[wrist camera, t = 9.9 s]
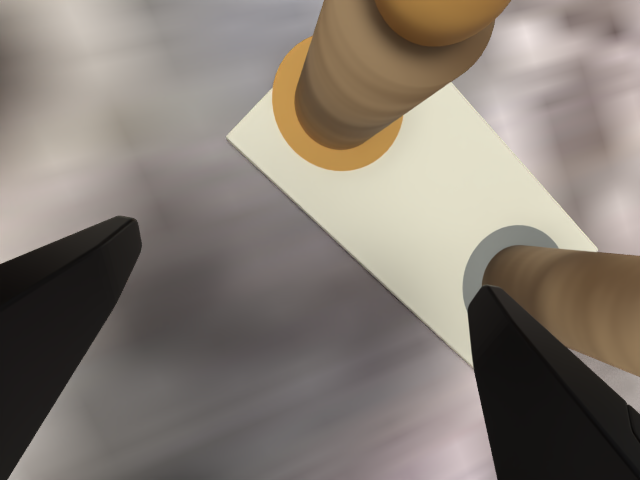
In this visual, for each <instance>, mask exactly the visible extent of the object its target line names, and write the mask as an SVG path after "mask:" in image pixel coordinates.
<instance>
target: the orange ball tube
mask: <svg viewBox="0 0 640 480" xmlns="http://www.w3.org/2000/svg"><path fill="white" fill-rule="evenodd" d="M510 1H511V0H324V2H323V6H322V9H321V12H320V15H319V18H318V21H317V24H316V27H315V31H314V34H313V37H312V40H311V43H310V46H309V49H308V53H307V56H306V59H305V62H304V65H303V68H302V71H301V75H300V78H299V81H298V84H297V87H296V91H295V100H294V104H295V111H296V115H297V118H298V121H299V123H300V125H301V127H302V128H303V130H304V131H305V132H306V133H307V135H308V136H309V137H310V138H312V139H313V140H314V141H315V142H317V143H318V144H320V145H322V146H324V147H327V148H330V149H335V150H347V149H352V148H355V147H357V146H359V145H361V144H363V143H364V142H366V141H367V140H369V139H370V138H371V137H373V136H374V135H376V134H377V133H379V132H380V131H382V130H383V129H384V128H386V127H387V126H389V125H390V124H392V123H393V122H394V121H396V120H397V119H399V118H400V117H402V116H403V115H404V114H406V113H407V112H409V111H410V110H412V109H413V108H414V107H416V106H417V105H419V104H420V103H422V102H423V101H424V100H426V99H427V98H429V97H430V96H432V95H433V94H434V93H436V92H437V91H439V90H440V89H442V88H443V87H445V86H446V85H447V84H449V83H450V82H452V81H453V80H455V79H456V78H457V77H459V76H460V75H462V74H463V73H464V72H466V71H467V70H468V69H469V68H470V67H471V66H472V65H474V64H475V62H476V61H477V60H478V59H479V57H480V56H481V55H482V53H483V51H484V50H485V48H486V46H487V44H488V42H489V40H490V37H491V34H492V31H493V28H494V23H495V19H496V18H497V17H498V16H499V15H500V14H501V13H502V12H503V10H504V9H505V8H506V6H507V5H508V4H509V3H510Z"/></svg>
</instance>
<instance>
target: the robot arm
mask: <svg viewBox="0 0 640 480" xmlns="http://www.w3.org/2000/svg"><path fill="white" fill-rule="evenodd" d="M141 248H142V242H141V236H140V231H139V225H138V222H137V220H136V219H134V218H130V217H125V216H116V217H113V218H111V219H108V220H106V221H104V222H101V223H99V224H96V225H94V226H91V227H89V228H87V229H84V230H82V231H79V232H77V233H74V234H72V235H70V236H67V237H65V238H62V239H60V240H58V241H55V242H53V243H50V244H48V245H45V246H43V247H41V248H38V249H36V250H33V251H31V252H28V253H26V254H24V255H21V256H19V257H16V258H14V259H12V260H9V261H7V262H4V263H2V264H0V480H7V479H8V478H9V476H10V475H11V473H12V471H13V470H14V468H15V466H16V465H17V463H18V462H19V460H20V458H21V457H22V455H23V454H24V452H25V450H26V449H27V447H28V446H29V444H30V442H31V441H32V439H33V437H34V436H35V434H36V433H37V431H38V429H39V428H40V426H41V425H42V423H43V421H44V420H45V418H46V417H47V415H48V413H49V412H50V410H51V408H52V407H53V405H54V404H55V402H56V400H57V399H58V397H59V396H60V394H61V392H62V391H63V389H64V388H65V386H66V384H67V383H68V381H69V379H70V378H71V376H72V375H73V373H74V371H75V370H76V368H77V367H78V365H79V363H80V362H81V360H82V359H83V357H84V355H85V354H86V352H87V350H88V349H89V347H90V346H91V344H92V342H93V341H94V339H95V338H96V336H97V334H98V333H99V331H100V329H101V328H102V326H103V325H104V323H105V321H106V320H107V318H108V317H109V315H110V313H111V312H112V310H113V308H114V307H115V305H116V303H117V301H118V299H119V297H120V295H121V293H122V291H123V289H124V287H125V285H126V282H127V280H128V278H129V276H130V274H131V272H132V270H133V267H134V265H135V263H136V261H137V259H138V257H139V255H140V252H141ZM467 313H468V323H469V333H470V343H471V353H472V361H473V368H474V373H475V378H476V382H477V387H478V392H479V396H480V401H481V405H482V410H483V415H484V419H485V424H486V429H487V433H488V438H489V443H490V447H491V452H492V456H493V461H494V466H495V470H496V475H497V480H640V414H639V413H638V412H637V411H636V410H635V409H634V408H633V407H632V406H630V405H627V403H626V401H625V400H624V399H623V398H622V397H620V396H619V395H618V394H617V393H616V392H615V391H614V390H613V389H612V388H611V387H609V386H608V385H607V384H606V383H605V382H604V381H603V380H602V379H601V378H600V377H598V376H597V375H596V374H595V373H594V372H593V371H592V370H591V369H590V368H589V367H587V366H586V365H585V364H584V363H583V362H582V361H581V360H580V359H579V358H578V357H576V356H575V355H574V354H573V353H572V352H571V351H570V350H569V349H568V348H567V347H566V346H564V345H563V344H562V343H561V342H560V341H559V340H558V339H557V338H556V337H555V336H553V335H552V334H551V333H550V332H549V331H548V330H547V329H546V328H545V327H544V326H542V325H541V324H540V323H539V322H538V321H537V320H536V319H535V318H534V317H533V316H531V315H530V314H529V313H528V312H527V311H526V310H525V309H524V308H523V307H522V306H520V305H519V304H518V303H517V302H516V301H515V300H514V299H513V298H512V297H511V296H510V295H508V294H507V293H506V292H505V291H504V290H503V289H502V288H500V287H497V286H492V285H483V286H482V287H481V288H480V289H479V291H478V292H477V293H476V295H475V296H474V298H473V299H472V301H471V302H470V304H469V306H468V311H467Z"/></svg>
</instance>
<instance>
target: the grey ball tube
mask: <svg viewBox="0 0 640 480" xmlns="http://www.w3.org/2000/svg"><path fill="white" fill-rule="evenodd" d="M483 285H492V286H497V287H500V288H502V289H503V290H504V291H505V292H506V293H507V294H508V295H510V296H511V297H512V298H513V299H514V300H515V301H516V302H517V303H518V304H519V305H520V306H522V307H523V308H524V309H525V310H526V311H527V312H528V313H529V314H530V315H531V316H533V317H534V318H535V319H536V320H537V321H538V322H539V323H540V324H541V325H542V326H544V327H545V328H546V329H547V330H548V331H549V332H550V333H551V334H552V335H553V336H555V337H556V338H557V339H558V340H559V341H560V342H561V343H562V344H563V345H564V346H566V347H567V348H570V349H572V350H575V351H577V352H580V353H582V354H585V355H587V356H590V357H592V358H594V359H597V360H599V361H602V362H604V363H607V364H609V365H612V366H614V367H617V368H619V369H622V370H624V371H626V372H629V373H631V374H634V375H636V376H639V377H640V256H634V255H623V254H613V253H602V252H591V251H580V250H569V249H558V248H547V247H537V246H526V245H514V246H510V247H507V248H504V249H503V250H501V251H499V252H498V253H497V254H496V255H495V256H494V257H493V258H492V259H491V260H490V262H489V263H488V265H487V267H486V269H485V271H484V275H483V279H482V286H483Z"/></svg>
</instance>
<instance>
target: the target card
mask: <svg viewBox="0 0 640 480" xmlns="http://www.w3.org/2000/svg"><path fill="white" fill-rule="evenodd" d="M312 37H313V36H311V37H309V38H307V39H305V40H303V41H302V42H300V43H299V44H297V45H296V46H295V47H294V48H293V49H292V50H290V52H289V53H288V54H287V55H286V56H285V58H284V59H283V61H282V63H281V64H280V66H279V68H278V71H277V73H276V76H275V80H274V84H273V88H272V89H271V90H270V91H269V92H268V93H267V94H266V95H265V96H264V97H263V98H262V99H261V100H260V101H259V102H258V104H257V105H256V106H255V107H254V108H253V109H252V110H251V111H250V112H249V113H248V114H247V115H246V116H245V117H244V118H243V119H242V120H241V121H240V122H239V123H238V124H237V125H236V127H235V128H234V129H233V130H232V131H231V132H230V133H229V134H228V135H227V136H226V139H227V141H228V142H229V143H231V144H232V145H233V146H234V147H235V148H236V149H237V150H238V151H239V152H240V153H241V154H242V155H243V156H245V157H246V158H247V159H248V160H249V161H250V162H251V163H252V164H253V165H254V166H255V167H256V168H257V169H259V170H260V171H261V172H262V173H263V174H264V175H265V176H266V177H267V178H268V179H269V180H270V181H271V182H273V183H274V184H275V185H276V186H277V187H278V188H279V189H280V190H281V191H282V192H283V193H284V194H285V195H287V196H288V197H289V198H290V199H291V200H292V201H293V202H294V203H295V204H296V205H297V206H298V207H299V208H300V209H302V210H303V211H304V212H305V213H306V214H307V215H308V216H309V217H310V218H311V219H312V220H313V221H314V222H316V223H317V224H318V225H319V226H320V227H321V228H322V229H323V230H324V231H325V232H326V233H327V234H328V235H330V236H331V237H332V238H333V239H334V240H335V241H336V242H337V243H338V244H339V245H340V246H341V247H342V248H344V249H345V250H346V251H347V252H348V253H349V254H350V255H351V256H352V257H353V258H354V259H355V260H356V261H358V262H359V263H360V264H361V265H362V266H363V267H364V268H365V269H366V270H367V271H368V272H369V273H370V274H372V275H373V276H374V277H375V278H376V279H377V280H378V281H379V282H380V283H381V284H382V285H383V286H384V287H386V288H387V289H388V290H389V291H390V292H391V293H392V294H393V295H394V296H395V297H396V298H397V299H398V300H400V301H401V302H402V303H403V304H404V305H405V306H406V307H407V308H408V309H409V310H410V311H411V312H412V313H414V314H415V315H416V316H417V317H418V318H419V319H420V320H421V321H422V322H423V323H424V324H425V325H426V326H428V327H429V328H430V329H431V330H432V331H433V332H434V333H435V334H436V335H437V336H438V337H439V338H440V339H441V340H443V341H444V342H445V343H446V344H447V345H448V346H449V347H450V348H451V349H452V350H453V351H454V352H455V353H457V354H458V355H459V356H460V357H461V358H462V359H463V360H464V361H465V362H466V363H467V364H468V365H469V366H471V367H472V368H473V361H472V353H471V343H470V333H469V323H468V313H467V311H468V306H469V304H470V302H471V301H472V299H473V298H474V296H475V295H476V293H477V292H478V291H479V289H480V288H481V287H482V279H483V275H484V271H485V269H486V267H487V265H488V263H489V262H490V260H491V259H492V258H493V257H494V256H495V255H496V254H497V253H498V252H499V251H501V250H503V249H504V248H507V247H510V246H514V245H526V246H537V247H547V248H558V249H569V250H580V251H591V252H597V251H598V248H597V247H596V246H595V245H594V244H593V243H592V242H591V241H590V239H589V238H588V237H587V236H586V235H585V234H584V233H583V231H582V230H581V229H580V228H579V227H578V226H577V225H576V223H575V222H574V221H573V220H572V219H571V218H570V217H569V216H568V214H567V213H566V212H565V211H564V210H563V209H562V208H561V206H560V205H559V204H558V203H557V202H556V201H555V200H554V199H553V197H552V196H551V195H550V194H549V193H548V192H547V191H546V189H545V188H544V187H543V186H542V185H541V184H540V183H539V182H538V180H537V179H536V178H535V177H534V176H533V175H532V174H531V172H530V171H529V170H528V169H527V168H526V167H525V166H524V165H523V163H522V162H521V161H520V160H519V159H518V158H517V157H516V155H515V154H514V153H513V152H512V151H511V150H510V149H509V147H508V146H507V145H506V144H505V143H504V142H503V141H502V140H501V138H500V137H499V136H498V135H497V134H496V133H495V132H494V130H493V129H492V128H491V127H490V126H489V125H488V124H487V123H486V121H485V120H484V119H483V118H482V117H481V116H480V115H479V113H478V112H477V111H476V110H475V109H474V108H473V107H472V106H471V104H470V103H469V102H468V101H467V100H466V99H465V98H464V96H463V95H462V94H461V93H460V92H459V91H458V90H457V88H456V87H455V86H454V85H453V84H452V83H451V82H450V83H449V84H447V85H446V86H445V87H443V88H442V89H440V90H439V91H437V92H436V93H434V94H433V95H432V96H430V97H429V98H427V99H426V100H424V101H423V102H422V103H420V104H419V105H417V106H416V107H414V108H413V109H412V110H410V111H409V112H407V113H406V114H404V115H403V116H402V117H400V118H399V119H397V120H396V121H394V122H393V123H392V124H390V125H389V126H387V127H386V128H384V129H383V130H382V131H380V132H379V133H377V134H376V135H374V136H373V137H371V138H370V139H369V140H367V141H366V142H364V143H363V144H361V145H359V146H357V147H355V148H352V149H347V150H335V149H330V148H327V147H324V146H322V145H320V144H318V143H317V142H315V141H314V140H313V139H312V138H310V137H309V136H308V135H307V133H306V132H305V131H304V130H303V128H302V127H301V125H300V123H299V121H298V118H297V115H296V111H295V104H294V100H295V91H296V87H297V84H298V81H299V78H300V75H301V71H302V68H303V65H304V62H305V59H306V56H307V53H308V49H309V46H310V43H311V40H312ZM473 369H474V368H473Z"/></svg>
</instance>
